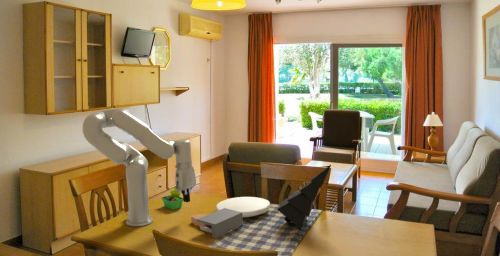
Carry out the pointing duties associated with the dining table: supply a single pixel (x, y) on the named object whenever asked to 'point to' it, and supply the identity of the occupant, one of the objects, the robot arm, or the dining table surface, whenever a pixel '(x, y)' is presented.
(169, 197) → the fruit basket
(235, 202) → the plate
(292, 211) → the decorative tree
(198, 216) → the slab
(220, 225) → the grey block with tab
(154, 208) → the dining table surface
